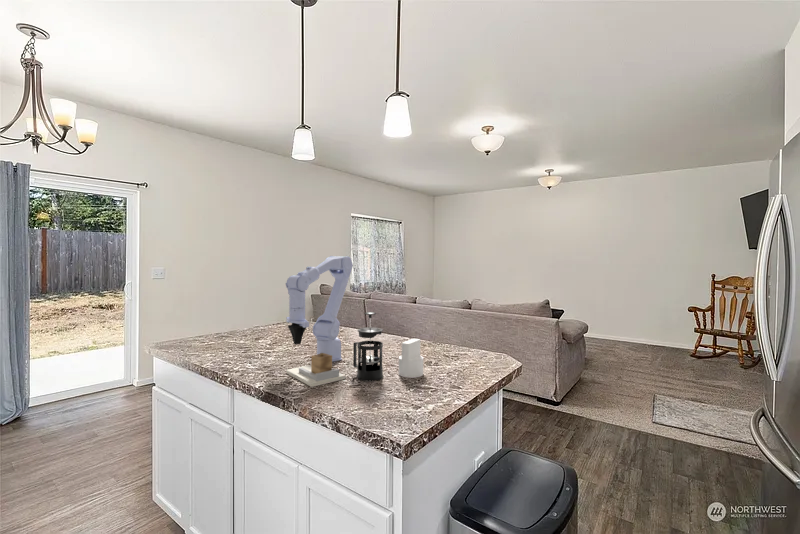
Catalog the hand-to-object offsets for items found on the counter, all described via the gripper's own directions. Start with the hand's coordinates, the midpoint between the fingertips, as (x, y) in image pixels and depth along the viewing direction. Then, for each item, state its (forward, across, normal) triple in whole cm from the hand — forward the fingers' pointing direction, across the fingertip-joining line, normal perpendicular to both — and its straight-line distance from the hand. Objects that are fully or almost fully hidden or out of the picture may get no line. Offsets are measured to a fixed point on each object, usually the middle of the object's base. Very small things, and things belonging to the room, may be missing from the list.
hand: (297, 344), depth 138 cm
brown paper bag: (+9, +15, +2) cm, 17 cm away
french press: (+10, +23, +16) cm, 30 cm away
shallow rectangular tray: (+10, +10, +2) cm, 14 cm away
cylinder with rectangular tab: (+10, +30, +30) cm, 44 cm away
